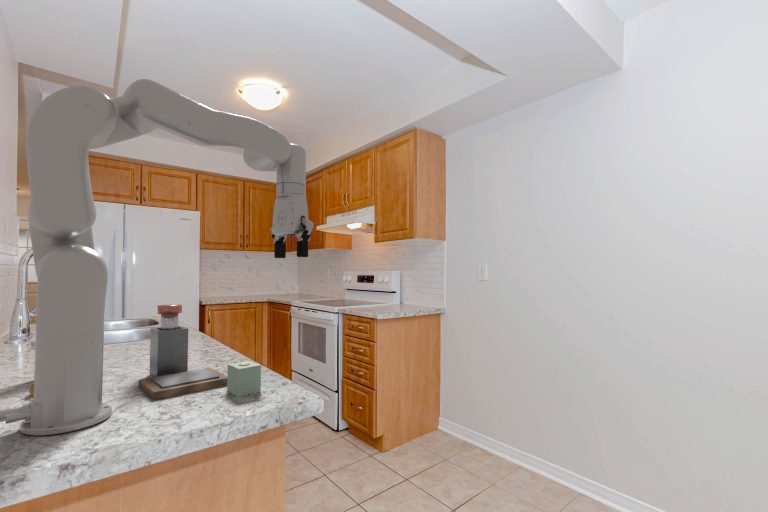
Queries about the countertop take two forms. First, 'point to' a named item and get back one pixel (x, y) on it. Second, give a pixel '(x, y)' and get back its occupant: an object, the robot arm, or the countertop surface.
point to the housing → (244, 378)
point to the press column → (168, 351)
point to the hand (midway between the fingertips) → (290, 257)
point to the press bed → (182, 383)
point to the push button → (169, 316)
